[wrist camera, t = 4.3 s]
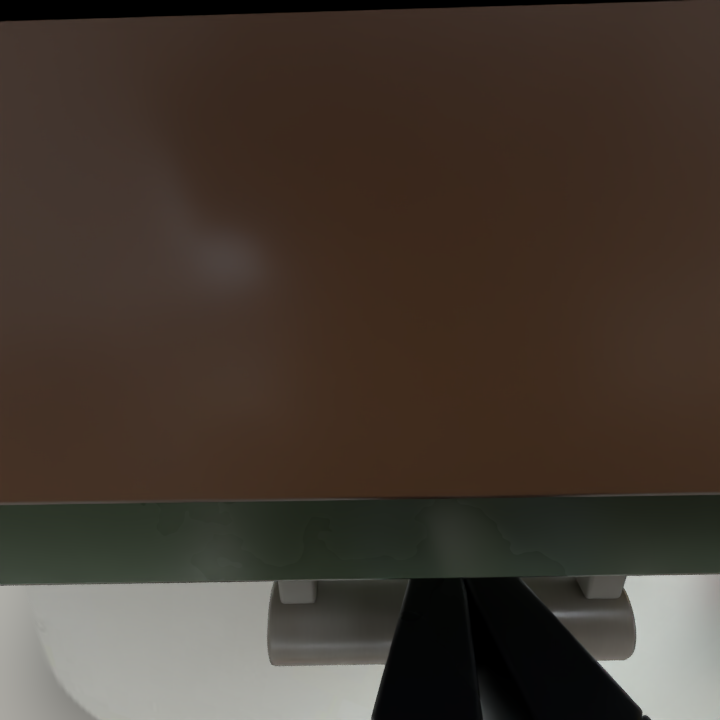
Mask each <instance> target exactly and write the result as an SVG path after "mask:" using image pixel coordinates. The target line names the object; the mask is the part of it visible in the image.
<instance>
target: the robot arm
mask: <svg viewBox="0 0 720 720" xmlns="http://www.w3.org/2000/svg"><path fill="white" fill-rule="evenodd" d="M371 720H651V719H650V718H649V717H648V716H646V715H644V716H642V710H641V708H640V707H639V706H638V705H637V704H636V703H635V702H634V701H633V700H632V699H631V698H630V696H629V695H628V694H627V693H626V692H625V691H624V690H623V689H622V688H621V687H620V686H619V685H618V683H617V682H616V681H615V680H614V679H613V678H612V677H611V676H610V675H609V674H608V673H607V672H606V670H605V669H604V668H603V667H602V666H601V665H600V664H599V663H598V662H597V661H596V660H595V658H594V657H593V656H592V655H591V654H590V653H589V652H588V651H587V650H586V649H585V648H584V647H583V645H582V644H581V643H580V642H579V641H578V640H577V639H576V638H575V637H574V636H573V635H572V633H571V632H570V631H569V630H568V629H567V628H566V627H565V626H564V625H563V624H562V623H561V622H560V620H559V619H558V618H557V617H556V616H555V615H554V614H553V613H552V612H551V611H550V610H549V609H548V607H547V606H546V605H545V604H544V603H543V602H542V601H541V600H540V599H539V598H538V597H537V595H536V594H535V593H534V592H533V591H532V590H531V589H530V588H529V587H528V586H527V585H526V584H525V582H524V581H523V580H522V579H521V578H520V577H513V578H450V579H409V580H408V584H407V588H406V591H405V595H404V599H403V602H402V606H401V610H400V613H399V617H398V621H397V624H396V628H395V632H394V635H393V639H392V643H391V646H390V650H389V654H388V658H387V661H386V665H385V669H384V672H383V676H382V680H381V683H380V687H379V691H378V694H377V698H376V702H375V705H374V709H373V713H372V717H371Z"/></svg>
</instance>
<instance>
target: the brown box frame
mask: <svg viewBox="0 0 720 720" xmlns="http://www.w3.org/2000/svg"><path fill="white" fill-rule="evenodd" d="M673 495H720V0H0V505H45V504H115V503H185V502H255V501H324V500H394V499H464V498H534V497H603V496H673Z"/></svg>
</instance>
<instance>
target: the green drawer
mask: <svg viewBox="0 0 720 720" xmlns="http://www.w3.org/2000/svg"><path fill="white" fill-rule="evenodd" d="M704 574H720V495H673V496H603V497H534V498H464V499H394V500H324V501H255V502H185V503H115V504H45V505H0V585H1V586H4V585H68V584H132V583H195V582H259V581H274V583H273V586H272V590H271V596H270V602H269V612H268V629H267V643H268V655H269V659H270V663H271V664H272V665H274V666H315V665H373V664H386V661H387V658H388V654H389V650H390V646H391V643H392V639H393V635H394V632H395V628H396V624H397V621H398V617H399V613H400V610H401V606H402V602H403V599H404V595H405V591H406V588H407V584H408V580H409V579H450V578H513V577H520V578H521V579H522V580H523V581H524V582H525V584H526V585H527V586H528V587H529V588H530V589H531V590H532V591H533V592H534V593H535V594H536V595H537V597H538V598H539V599H540V600H541V601H542V602H543V603H544V604H545V605H546V606H547V607H548V609H549V610H550V611H551V612H552V613H553V614H554V615H555V616H556V617H557V618H558V619H559V620H560V622H561V623H562V624H563V625H564V626H565V627H566V628H567V629H568V630H569V631H570V632H571V633H572V635H573V636H574V637H575V638H576V639H577V640H578V641H579V642H580V643H581V644H582V645H583V647H584V648H585V649H586V650H587V651H588V652H589V653H590V654H591V655H592V656H593V657H594V658H595V660H596V661H606V660H626V659H627V658H629V657H630V656H631V655H632V654H633V652H634V649H635V644H636V626H635V619H634V614H633V610H632V607H631V604H630V601H629V598H628V596H627V593H626V591H625V589H624V587H623V586H624V583H625V579H626V576H641V575H704Z"/></svg>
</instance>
